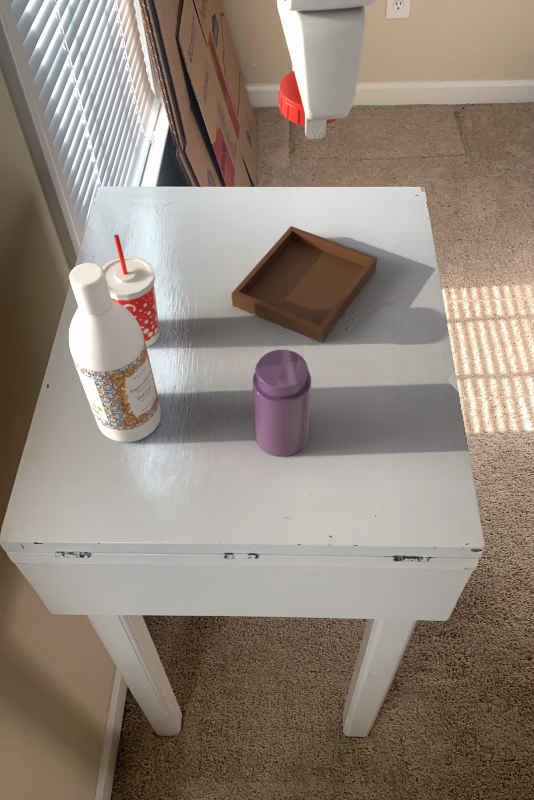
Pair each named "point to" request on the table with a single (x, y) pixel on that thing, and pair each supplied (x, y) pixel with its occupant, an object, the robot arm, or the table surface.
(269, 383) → the jar
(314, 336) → the tray
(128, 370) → the bath foam
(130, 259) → the beverage cup
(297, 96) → the lid
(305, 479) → the table surface
